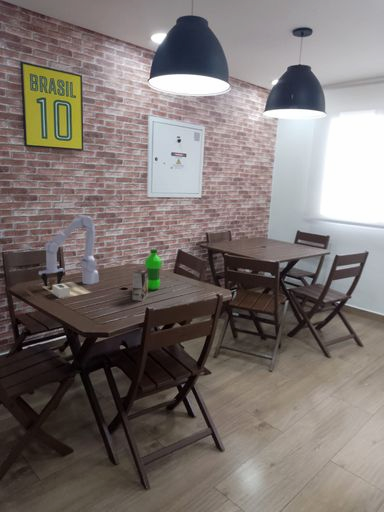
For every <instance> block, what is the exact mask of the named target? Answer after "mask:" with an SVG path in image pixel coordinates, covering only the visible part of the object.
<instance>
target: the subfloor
mask: <svg viewBox="0 0 384 512" xmlns="http://www.w3.org/2000/svg"><path fill="white" fill-rule="evenodd" d="M57 284H58V283H55V285H57ZM60 284H65V285H66V286H68V287H70V296H67V297H62V298H61V299H63V298H70V297H76V296H82V295H86V294H92V293H93V292H92V291H90V290H88V289H86V288H84V287H83V286H81V285H79V284H77V283H76V282H73V281H68V282H62V283H61V282H60ZM42 288H43V289H45V290H47V291H48V292H49V293H51V294H52V295H54V294H53V289H50V287H49V285H47V287H46V286H45V285H44V286H42ZM54 296H55V297H57V296H56V295H54ZM57 298H59V297H57ZM59 299H60V298H59Z"/></svg>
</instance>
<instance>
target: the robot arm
mask: <svg viewBox="0 0 384 512" xmlns="http://www.w3.org/2000/svg"><path fill="white" fill-rule="evenodd" d="M79 228H83V229H84V230H85V243H84V254H83V256H82V259H81V261H80V267H81V269H82V275H81V276H82V284H83V285H93V284H96V283H99V280H100V279H99V277H100V276H99V272H98V270H97V264H96V258H95V256H94V253H95V252H94V251H95V238H96V225H95V223H94V219H93V218H92V217H91V216H89V215H85V214H78V215H76V217H74V218H73V220H72V221H71V223H69V224H68V226H67V227H66V228H65V229H64V230H63V231H62V232H58V233H55V236H54V237H52V239H50V240H49V241H48V242H46V243H45V244H44V246H43V248H44V250H45V260H46V263H45V264H46V269H43V270H39V271H38V275H39V276H40V277H41V279H42V281H43V285H44V286H46V287H47V286H48V274H49V275H50V274H55V273H56V279H57V283H56V284H61V282H62V278H63V276H64V273H65V270H66V269H65V268H64V267H61V268H60V267H59V268H58V261H57V260H58V258H57V257H58V255H57V253H58V250H59V247H60V246H61V245H62V244H64V242H65V241H67V236H70V235H71V233H72V232H73V231H75V230H76V229H79Z"/></svg>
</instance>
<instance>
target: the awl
mask: <svg viewBox="0 0 384 512" xmlns="http://www.w3.org/2000/svg"><path fill="white" fill-rule="evenodd" d="M48 283H49V285H48V286H49V287H50V288H49V289H50V290H53V286H52V285H55V284H56V279H54V278H52V279H49V282H48Z"/></svg>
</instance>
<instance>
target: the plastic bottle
mask: <svg viewBox="0 0 384 512" xmlns="http://www.w3.org/2000/svg"><path fill="white" fill-rule="evenodd" d="M150 253H151V254H150V255H149V256H148V257H147V258H145V260H144V261H145V263H144V265H145V267H146V270H148V290H151V291H152V290H154V291H155V290H157V289H158V288H159V287H160V286H161V278H160V268H161V267H162V259H161V258H160V257H159V256H158V255H157V253H158V249H155V248H151V249H150Z"/></svg>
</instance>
